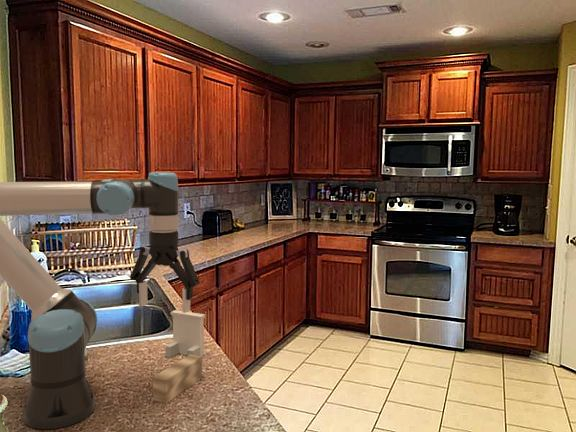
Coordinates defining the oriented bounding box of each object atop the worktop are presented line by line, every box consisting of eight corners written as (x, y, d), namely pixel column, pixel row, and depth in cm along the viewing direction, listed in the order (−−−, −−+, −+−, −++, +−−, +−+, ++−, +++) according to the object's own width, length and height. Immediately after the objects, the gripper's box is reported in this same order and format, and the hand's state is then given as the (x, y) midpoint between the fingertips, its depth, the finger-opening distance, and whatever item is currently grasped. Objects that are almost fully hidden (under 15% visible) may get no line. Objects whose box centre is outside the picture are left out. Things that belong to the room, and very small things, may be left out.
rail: (166, 403, 119) (165, 380, 118) (153, 400, 121) (152, 377, 120) (202, 377, 134) (202, 356, 133) (190, 374, 135) (190, 354, 135)
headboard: (194, 362, 143) (193, 320, 141) (164, 356, 147) (163, 315, 146) (205, 355, 149) (205, 314, 147) (176, 349, 153) (175, 309, 151)
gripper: (212, 231, 127) (212, 309, 129) (133, 226, 135) (134, 299, 137) (197, 235, 120) (198, 318, 122) (115, 229, 128) (117, 306, 130)
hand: (164, 308), depth 130 cm, fingers open, 13 cm apart
